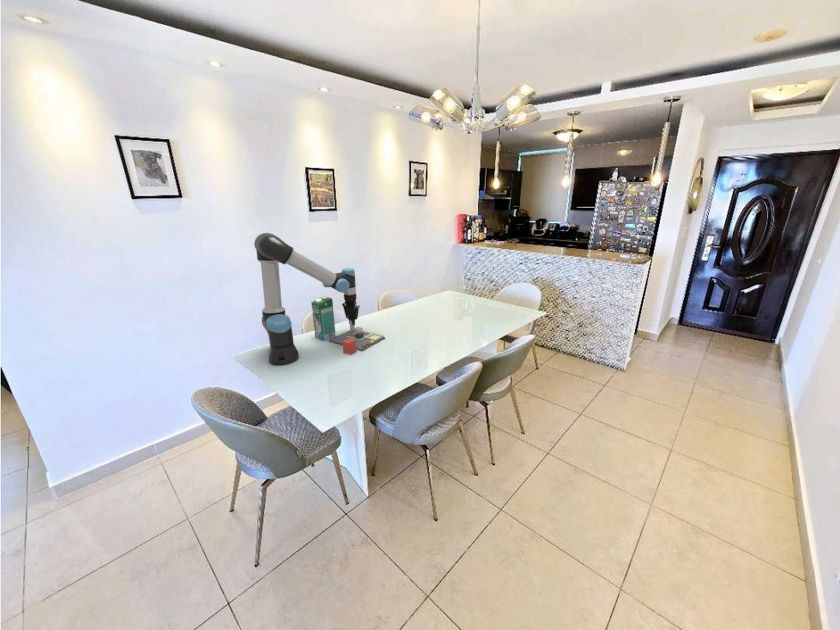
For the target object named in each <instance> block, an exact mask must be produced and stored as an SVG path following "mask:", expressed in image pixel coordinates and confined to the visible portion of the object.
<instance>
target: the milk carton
mask: <svg viewBox="0 0 840 630" xmlns="http://www.w3.org/2000/svg"><path fill="white" fill-rule="evenodd" d="M310 303H311V311H312V318H313V321H312V322H313V328H314V337H315V338H316V339H319V340H320V341H322V342H324V341H327V340H329V339H331V338H334V337H336V336H337V335H336V326H335V325H336V324H335V314H334V302H333V298H332V297H329V296H326V295H323V296H321V297H318V298H317V299H315V300H313V301H311V302H310Z"/></svg>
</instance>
